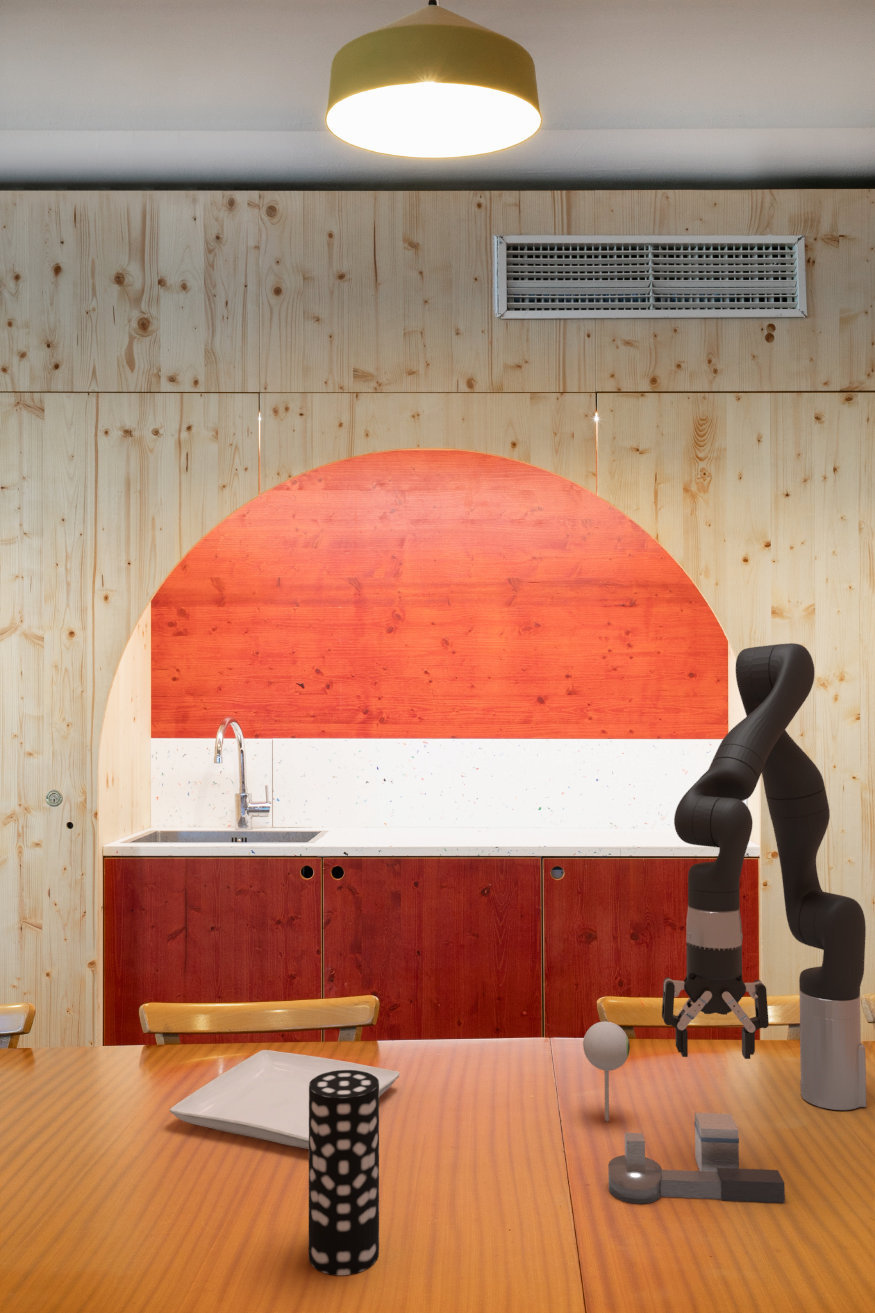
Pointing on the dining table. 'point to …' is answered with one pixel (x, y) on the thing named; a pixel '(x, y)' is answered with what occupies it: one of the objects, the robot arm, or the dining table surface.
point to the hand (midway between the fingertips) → (714, 1056)
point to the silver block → (716, 1141)
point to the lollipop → (606, 1051)
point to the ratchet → (686, 1180)
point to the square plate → (267, 1096)
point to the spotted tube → (343, 1171)
